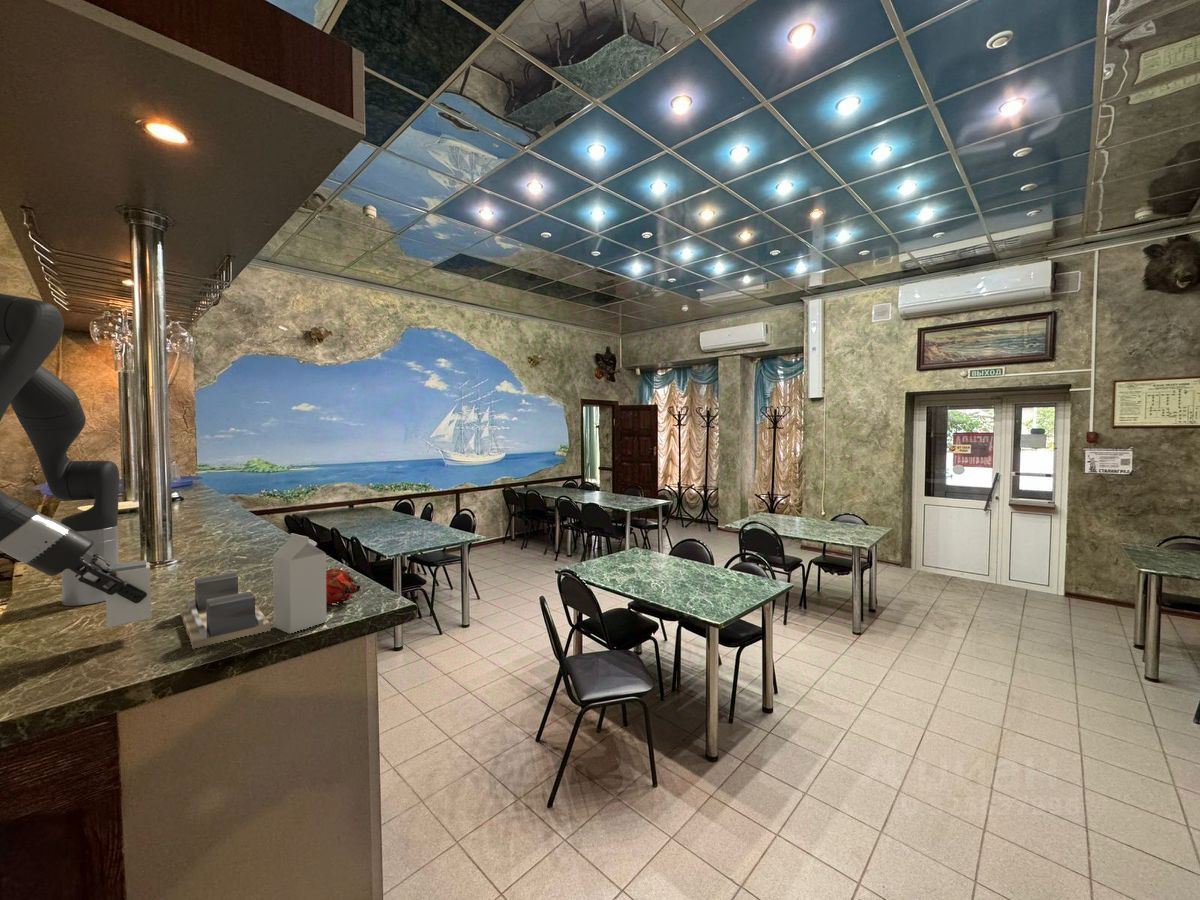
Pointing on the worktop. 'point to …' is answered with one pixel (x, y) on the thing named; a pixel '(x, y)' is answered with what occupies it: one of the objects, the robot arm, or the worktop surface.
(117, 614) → the block
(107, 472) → the robot arm
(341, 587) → the dragon fruit
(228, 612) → the rail plate
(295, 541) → the milk carton
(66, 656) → the worktop surface
